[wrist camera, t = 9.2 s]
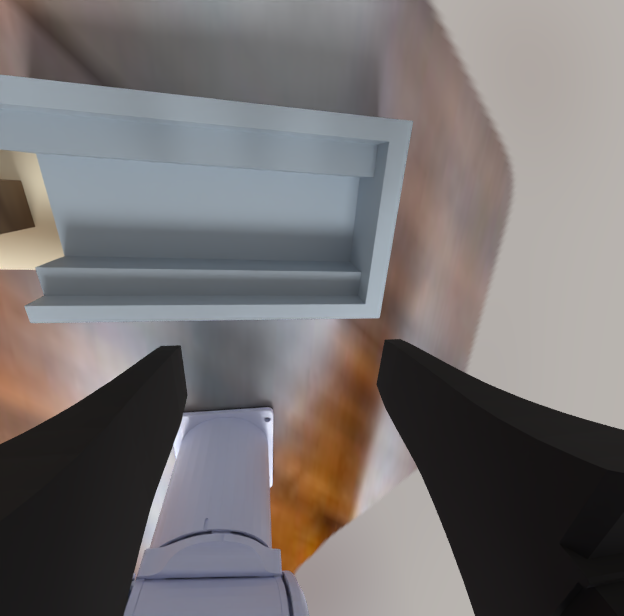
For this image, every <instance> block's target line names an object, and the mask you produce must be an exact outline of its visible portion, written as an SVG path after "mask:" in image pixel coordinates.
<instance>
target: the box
mask: <svg viewBox="0 0 624 616" xmlns="http://www.w3.org/2000/svg"><path fill="white" fill-rule="evenodd" d="M412 125H413V121H408V120H399V119H390V118H381V117H372V116H363V115H354V114H346V113H337V112H328V111H319V110H310V109H301V108H292V107H283V106H275V105H266V104H257V103H248V102H239V101H230V100H221V99H212V98H204V97H195V96H186V95H177V94H168V93H159V92H150V91H141V90H133V89H124V88H115V87H106V86H97V85H88V84H79V83H70V82H62V81H53V80H44V79H35V78H26V77H17V76H8V75H0V149H1V150H9V151H18V152H26V153H35V154H36V155H37V159H38V163H39V166H40V170H41V173H42V177H43V181H44V184H45V188H46V191H47V195H48V198H49V202H50V206H51V209H52V213H53V216H54V220H55V224H56V227H57V231H58V234H59V238H60V242H61V245H62V249H63V252H64V256H63V257H61V258H58V259H55V260H53V261H50V262H48V263H45V264H43V265H40V266H37V267H35V268H36V272H37V275H38V278H39V281H40V284H41V287H42V290H43V293H44V296H42V297H41V298H39V299H37V300H35V301H33V302H31V303H29V304H27V305H26V306H25V309H26V312H27V315H28V317H29V320H30V323H73V322H142V321H211V320H280V319H348V318H380V312H381V306H382V300H383V295H384V289H385V283H386V277H387V271H388V265H389V259H390V254H391V248H392V242H393V236H394V230H395V224H396V218H397V213H398V207H399V201H400V195H401V189H402V183H403V177H404V172H405V166H406V160H407V154H408V148H409V142H410V136H411V131H412Z"/></svg>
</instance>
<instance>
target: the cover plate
mask: <svg viewBox="0 0 624 616" xmlns="http://www.w3.org/2000/svg"><path fill="white" fill-rule="evenodd" d="M63 256H64V252H63V249H62V245H61V242H60V238H59V234H58V231H57V227H56V224H55V220H54V216H53V213H52V209H51V206H50V202H49V198H48V195H47V191H46V188H45V184H44V181H43V177H42V173H41V170H40V166H39V163H38V159H37V155H36V154H35V153H26V152H18V151H9V150H1V149H0V269H19V270H36V268H35V267H37V266H40V265H43V264H45V263H48V262H50V261H53V260H55V259H58V258H61V257H63Z"/></svg>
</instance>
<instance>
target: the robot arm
mask: <svg viewBox="0 0 624 616" xmlns="http://www.w3.org/2000/svg"><path fill="white" fill-rule="evenodd" d="M377 387H378V390H379V392H380V395H381V398H382V400H383V403H384V406H385V408H386V410H387V412H388V414H389V416H390V418H391V419H392V421H393V423H394V425H395V427H396V429H397V430H398V432H399V434H400V436H401V438H402V440H403V441H404V443H405V445H406V447H407V449H408V450H409V452H410V454H411V456H412V458H413V460H414V461H415V463H416V465H417V467H418V469H419V471H420V473H421V475H422V477H423V480H424V482H425V484H426V487H427V489H428V491H429V494H430V496H431V498H432V501H433V503H434V505H435V508H436V510H437V513H438V515H439V518H440V520H441V523H442V525H443V528H444V530H445V533H446V535H447V538H448V541H449V543H450V546H451V548H452V551H453V554H454V557H455V559H456V562H457V565H458V568H459V570H460V573H461V576H462V578H463V581H464V584H465V587H466V590H467V593H468V596H469V599H470V602H471V605H472V608H473V611H474V614H475V616H624V430H622V429H617V428H614V427H610V426H607V425H603V424H600V423H596V422H593V421H589V420H585V419H582V418H579V417H576V416H572V415H569V414H566V413H562V412H560V411H557V410H554V409H551V408H548V407H545V406H542V405H539V404H536V403H533V402H531V401H528V400H525V399H523V398H520V397H518V396H515V395H513V394H510V393H508V392H506V391H503V390H501V389H498V388H496V387H494V386H491V385H489V384H487V383H485V382H482V381H481V380H479V379H476V378H474V377H472V376H470V375H468V374H466V373H464V372H462V371H460V370H458V369H456V368H454V367H453V366H451V365H449V364H447V363H445V362H443V361H441V360H439V359H438V358H436V357H434V356H432V355H430V354H429V353H427V352H425V351H423V350H421V349H419V348H417V347H416V346H414V345H412V344H410V343H408V342H405V341H403V340H401V339H395V340H385V342H384V347H383V353H382V358H381V363H380V369H379V374H378V380H377ZM186 399H187V389H186V382H185V374H184V367H183V359H182V352H181V346H160V347H159V348H157V349H156V350H154V351H153V352H151V353H150V354H148V355H147V356H145V357H144V358H143V359H141V360H140V361H139V362H137V363H136V364H134V365H133V366H132V367H130V368H129V369H127V370H126V371H125V372H123V373H122V374H120V375H119V376H117V377H116V378H115V379H113V380H112V381H110V382H109V383H107V384H106V385H104V386H103V387H101V388H100V389H98V390H96V391H95V392H93V393H92V394H90V395H89V396H87V397H86V398H84V399H83V400H81V401H80V402H78V403H76V404H75V405H73V406H71V407H70V408H68V409H66V410H64V411H63V412H61V413H59V414H58V415H56V416H54V417H52V418H50V419H49V420H47V421H45V422H43V423H41V424H40V425H38V426H36V427H34V428H32V429H30V430H28V431H26V432H25V433H23V434H21V435H18V436H16V437H14V438H12V439H10V440H8V441H6V442H4V443H2V444H0V616H309V612H308V607H307V602H306V599H305V596H304V593H303V591H302V589H301V587H300V585H299V584H298V582H297V579H296V577H295V576H294V574H293V573H292V572H290V571H282V569H281V550H280V549H272V544H271V512H270V487H271V486H272V484H273V409H272V408H270V407H264V408H249V409H234V410H219V411H204V412H188V413H184V408H185V404H186ZM266 417H269V418H268V419H266ZM173 446H174V452H175V457H176V462H175V465H174V469H173V472H172V475H171V479H170V482H169V485H168V489H167V492H166V495H165V499H164V502H163V505H162V509H161V512H160V515H159V519H158V522H157V525H156V529H155V532H154V535H153V539H152V542H151V545H150V548H148V549H146V550H145V552H144V555H143V558H142V561H141V564H140V568H139V571H138V574H137V577H136V581H135V573H134V570H135V566H136V562H137V558H138V554H139V550H140V546H141V542H142V538H143V535H144V531H145V527H146V523H147V519H148V516H149V512H150V508H151V505H152V502H153V499H154V496H155V493H156V490H157V487H158V484H159V482H160V479H161V476H162V474H163V471H164V468H165V466H166V463H167V460H168V457H169V455H170V452H171V449H172V447H173Z"/></svg>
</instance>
